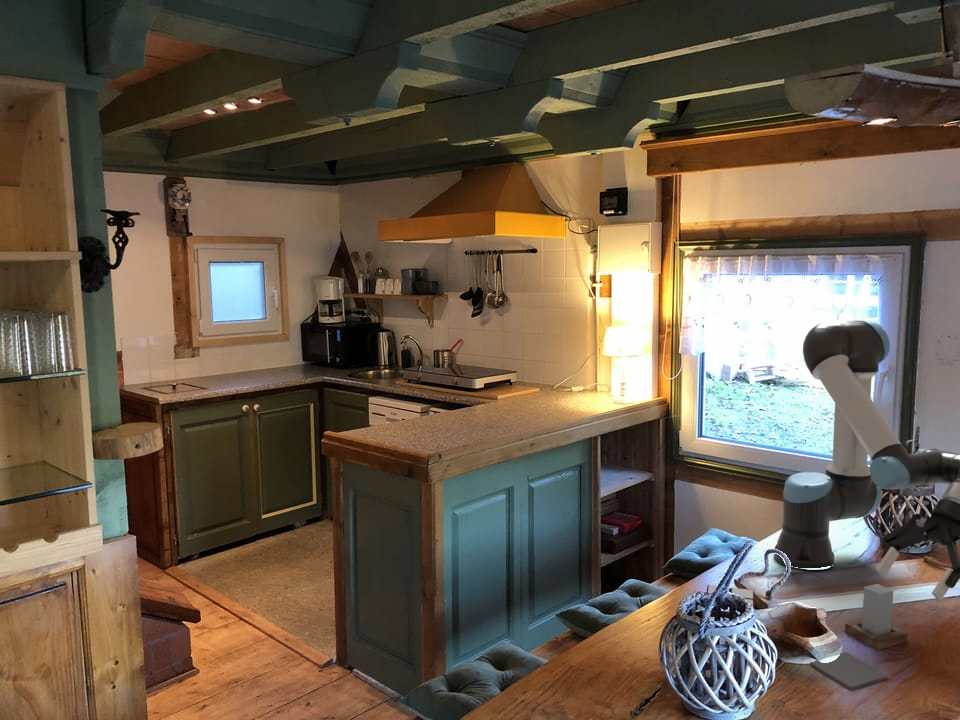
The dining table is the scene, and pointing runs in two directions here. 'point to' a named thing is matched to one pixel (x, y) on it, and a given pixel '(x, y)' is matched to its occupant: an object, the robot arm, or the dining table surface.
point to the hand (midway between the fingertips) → (906, 585)
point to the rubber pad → (850, 671)
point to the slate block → (877, 609)
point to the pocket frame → (875, 641)
